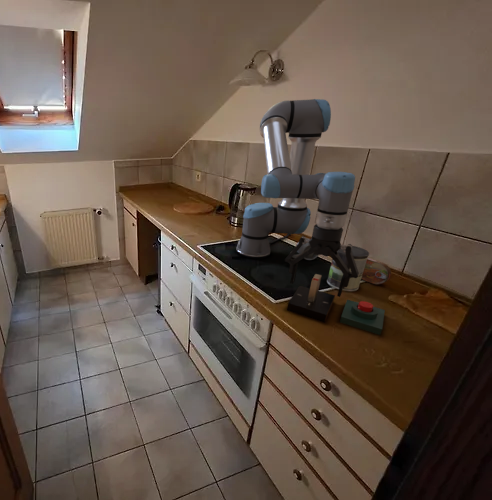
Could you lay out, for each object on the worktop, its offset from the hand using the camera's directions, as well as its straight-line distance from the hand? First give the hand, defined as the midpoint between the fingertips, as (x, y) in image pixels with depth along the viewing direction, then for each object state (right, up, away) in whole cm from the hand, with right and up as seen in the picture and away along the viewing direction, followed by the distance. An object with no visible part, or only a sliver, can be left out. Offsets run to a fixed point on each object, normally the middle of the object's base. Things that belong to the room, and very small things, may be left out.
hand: (314, 288), depth 97 cm
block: (+12, -9, -4) cm, 16 cm away
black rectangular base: (0, -7, +3) cm, 7 cm away
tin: (+31, +1, +19) cm, 36 cm away
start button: (+12, -6, -5) cm, 15 cm away
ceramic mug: (+17, +9, +39) cm, 44 cm away
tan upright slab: (0, -4, +2) cm, 4 cm away
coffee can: (+20, -1, +16) cm, 25 cm away
